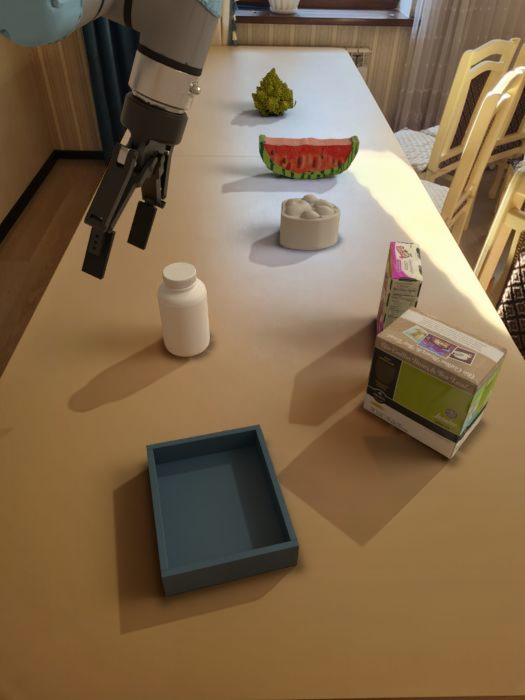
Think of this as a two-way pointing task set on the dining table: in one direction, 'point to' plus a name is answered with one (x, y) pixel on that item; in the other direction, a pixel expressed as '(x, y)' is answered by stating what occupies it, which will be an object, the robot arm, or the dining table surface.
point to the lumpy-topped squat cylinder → (309, 223)
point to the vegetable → (273, 95)
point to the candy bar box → (399, 283)
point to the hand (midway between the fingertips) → (116, 259)
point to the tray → (218, 509)
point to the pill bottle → (183, 310)
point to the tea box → (432, 379)
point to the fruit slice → (308, 156)
